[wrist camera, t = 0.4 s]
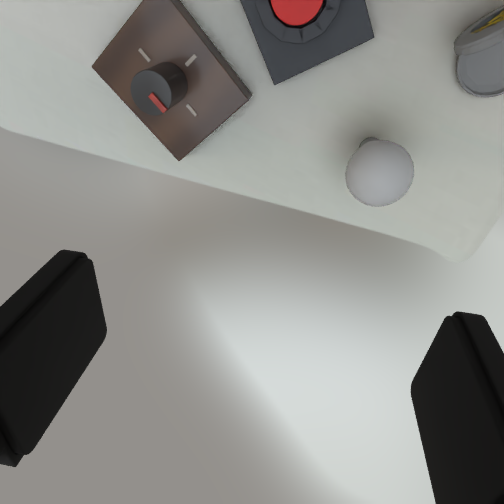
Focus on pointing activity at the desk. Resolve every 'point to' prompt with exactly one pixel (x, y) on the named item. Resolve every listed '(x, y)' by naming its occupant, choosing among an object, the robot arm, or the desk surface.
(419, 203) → the desk surface
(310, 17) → the light button
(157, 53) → the dimmer panel
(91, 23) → the desk surface
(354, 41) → the switch box
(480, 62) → the pocket watch
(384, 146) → the lightbulb
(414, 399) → the robot arm
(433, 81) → the desk surface
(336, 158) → the desk surface
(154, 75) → the dimmer knob
